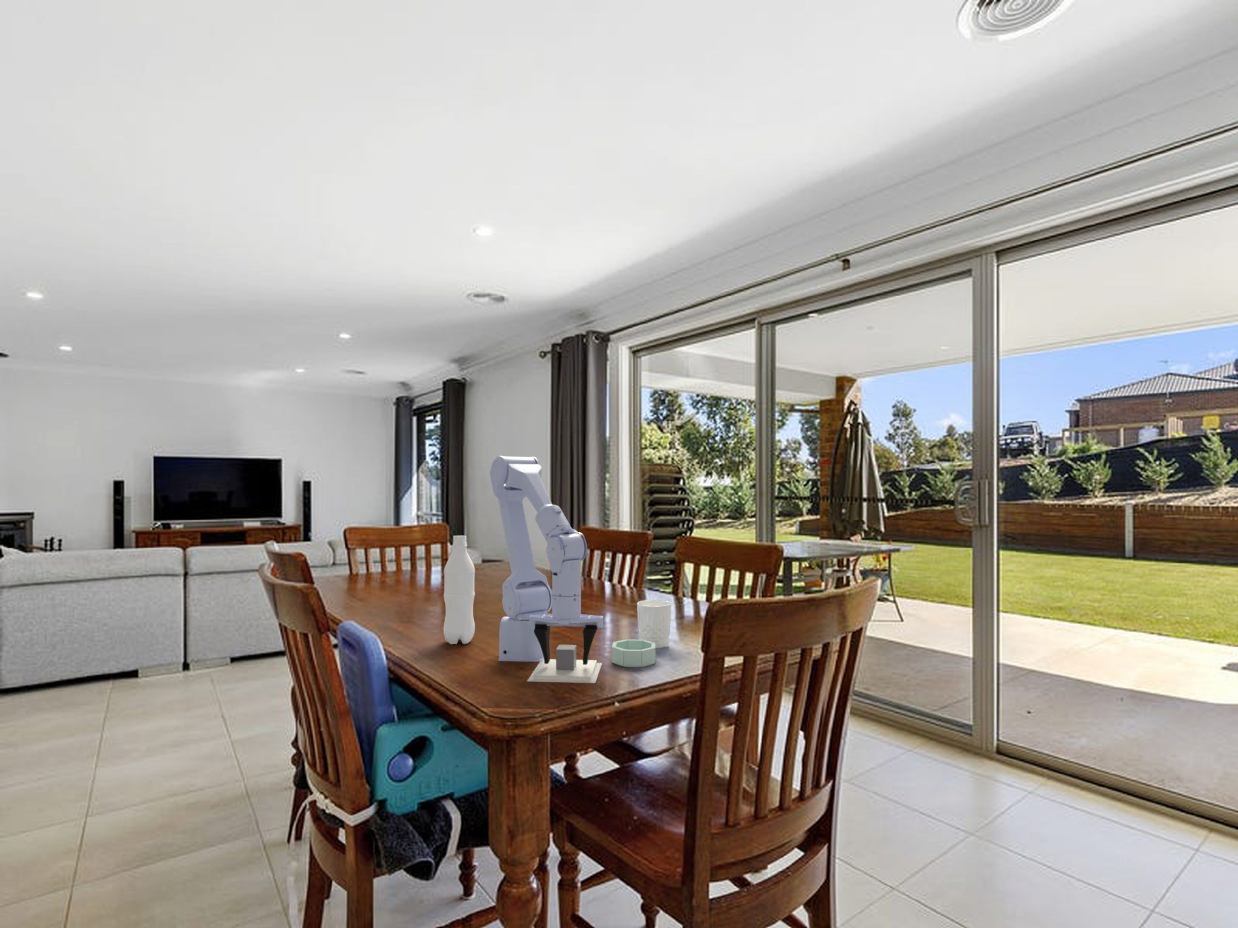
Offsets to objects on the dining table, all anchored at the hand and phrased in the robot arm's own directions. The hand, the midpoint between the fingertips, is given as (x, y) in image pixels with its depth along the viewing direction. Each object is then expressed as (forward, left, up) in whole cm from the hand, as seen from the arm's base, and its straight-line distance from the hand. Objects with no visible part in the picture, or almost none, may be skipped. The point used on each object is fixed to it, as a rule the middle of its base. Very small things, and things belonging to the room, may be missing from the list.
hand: (566, 662), depth 129 cm
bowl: (+13, +9, -2) cm, 16 cm away
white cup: (+17, +23, -2) cm, 28 cm away
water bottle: (-29, +23, -2) cm, 37 cm away
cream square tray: (0, 0, -2) cm, 2 cm away
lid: (0, 0, -2) cm, 2 cm away
